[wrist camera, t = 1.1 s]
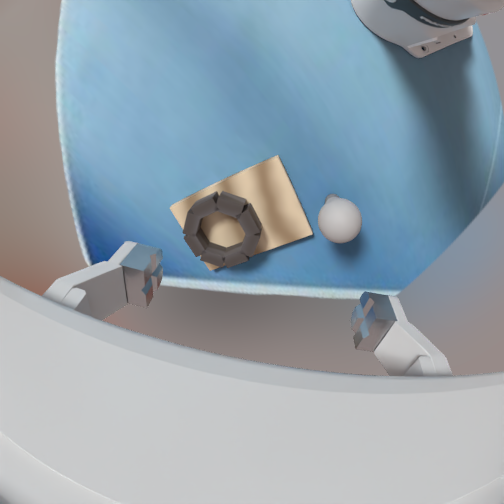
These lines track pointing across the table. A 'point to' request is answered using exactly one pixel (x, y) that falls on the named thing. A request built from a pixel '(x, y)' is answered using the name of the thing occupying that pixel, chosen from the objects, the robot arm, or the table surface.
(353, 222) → the lightbulb
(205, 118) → the table surface
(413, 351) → the robot arm
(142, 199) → the table surface
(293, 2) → the table surface
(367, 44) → the table surface
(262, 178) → the socket board
